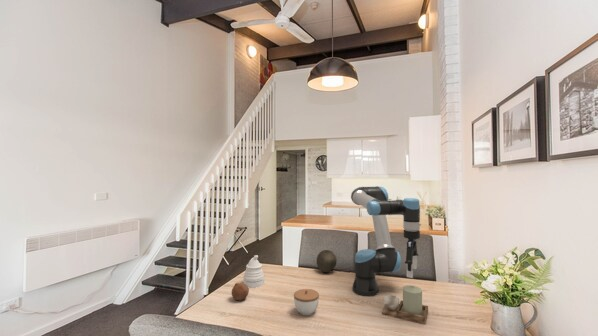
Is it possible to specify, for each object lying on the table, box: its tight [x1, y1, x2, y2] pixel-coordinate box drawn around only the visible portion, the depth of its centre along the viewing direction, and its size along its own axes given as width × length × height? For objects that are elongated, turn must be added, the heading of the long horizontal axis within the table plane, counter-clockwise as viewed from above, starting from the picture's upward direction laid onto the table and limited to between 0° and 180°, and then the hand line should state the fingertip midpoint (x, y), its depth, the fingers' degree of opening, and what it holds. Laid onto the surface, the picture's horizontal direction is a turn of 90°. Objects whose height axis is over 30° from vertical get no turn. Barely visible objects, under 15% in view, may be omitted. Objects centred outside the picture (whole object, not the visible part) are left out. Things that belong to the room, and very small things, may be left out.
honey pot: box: [243, 254, 265, 289], centre depth 183 cm, size 13×13×18 cm
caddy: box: [381, 294, 429, 325], centre depth 144 cm, size 20×13×6 cm, turn 61°
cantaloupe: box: [316, 249, 338, 273], centre depth 203 cm, size 14×14×15 cm
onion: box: [231, 282, 250, 301], centre depth 161 cm, size 10×9×10 cm
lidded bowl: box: [293, 288, 320, 316], centre depth 146 cm, size 13×13×11 cm
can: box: [402, 285, 423, 316], centre depth 142 cm, size 9×9×12 cm
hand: (411, 272), depth 143 cm, fingers open, 13 cm apart
